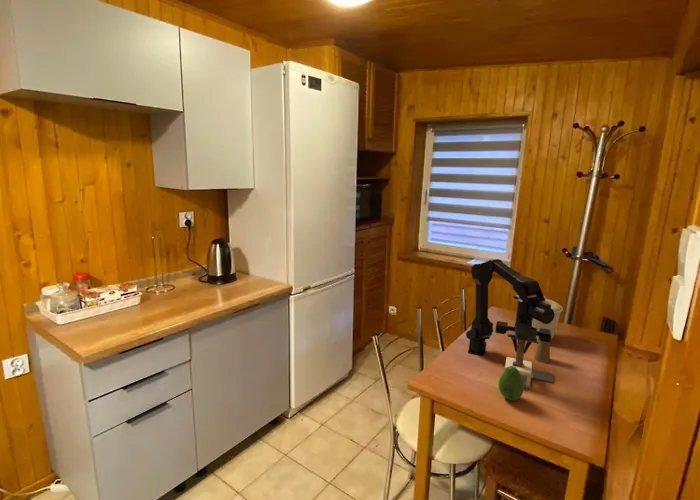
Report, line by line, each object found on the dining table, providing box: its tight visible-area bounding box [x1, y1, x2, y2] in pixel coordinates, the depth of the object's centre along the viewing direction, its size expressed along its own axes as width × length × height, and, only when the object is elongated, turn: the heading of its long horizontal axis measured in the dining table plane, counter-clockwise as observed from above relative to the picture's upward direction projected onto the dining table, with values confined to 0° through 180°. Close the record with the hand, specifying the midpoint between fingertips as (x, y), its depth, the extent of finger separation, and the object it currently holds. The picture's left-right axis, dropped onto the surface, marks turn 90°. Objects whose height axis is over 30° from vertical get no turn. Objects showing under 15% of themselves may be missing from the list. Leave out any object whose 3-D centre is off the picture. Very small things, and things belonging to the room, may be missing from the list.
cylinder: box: [514, 339, 526, 368], centre depth 145 cm, size 3×3×11 cm
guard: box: [504, 356, 533, 390], centre depth 148 cm, size 9×9×6 cm
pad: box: [532, 368, 554, 384], centre depth 151 cm, size 7×7×1 cm
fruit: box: [498, 365, 525, 401], centre depth 136 cm, size 8×8×12 cm
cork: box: [533, 336, 553, 364], centre depth 163 cm, size 6×6×11 cm
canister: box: [532, 295, 564, 343], centre depth 182 cm, size 18×18×21 cm
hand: (520, 352), depth 146 cm, fingers closed on cylinder, 3 cm apart
